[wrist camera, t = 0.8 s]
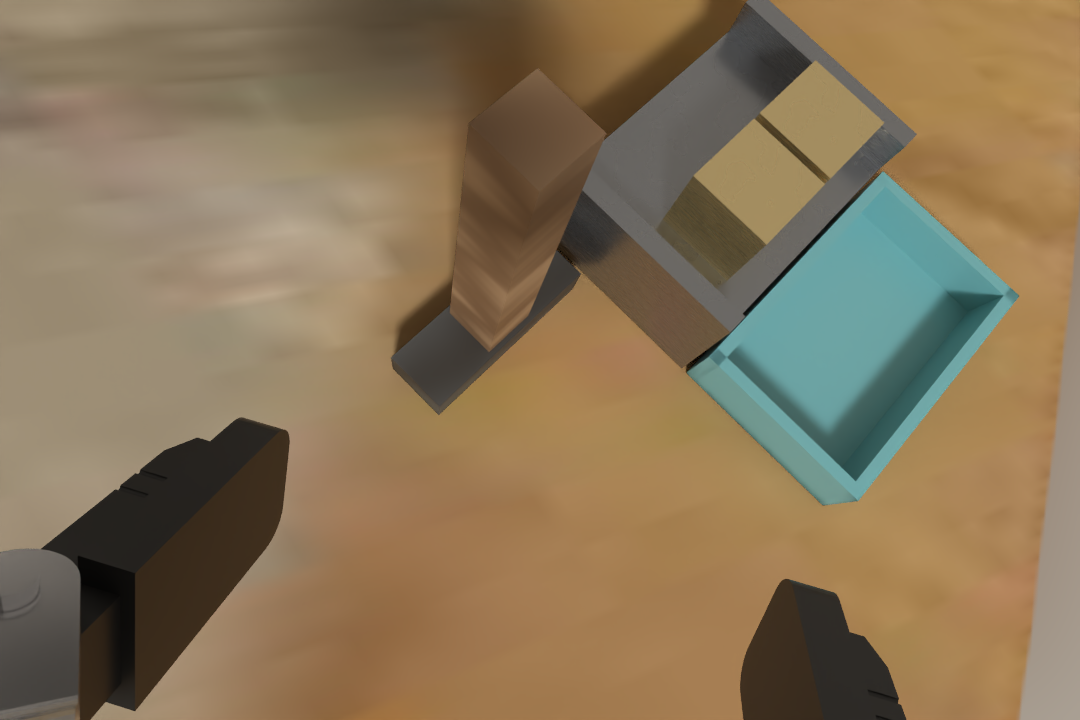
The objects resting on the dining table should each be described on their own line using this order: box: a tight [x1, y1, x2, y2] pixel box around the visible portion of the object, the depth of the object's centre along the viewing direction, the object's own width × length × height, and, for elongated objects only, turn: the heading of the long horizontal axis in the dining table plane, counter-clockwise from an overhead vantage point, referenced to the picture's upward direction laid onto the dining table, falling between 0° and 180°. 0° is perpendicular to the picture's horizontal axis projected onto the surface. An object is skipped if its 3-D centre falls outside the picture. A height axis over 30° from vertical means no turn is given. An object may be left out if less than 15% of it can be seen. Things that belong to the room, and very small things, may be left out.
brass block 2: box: [755, 60, 884, 183], centre depth 33 cm, size 4×4×4 cm
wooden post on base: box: [391, 68, 606, 415], centre depth 27 cm, size 3×9×17 cm, turn 136°
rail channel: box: [558, 0, 917, 368], centre depth 35 cm, size 10×14×6 cm
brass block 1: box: [663, 119, 825, 280], centre depth 32 cm, size 4×4×4 cm
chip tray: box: [687, 172, 1019, 505], centre depth 36 cm, size 9×14×3 cm, turn 136°
